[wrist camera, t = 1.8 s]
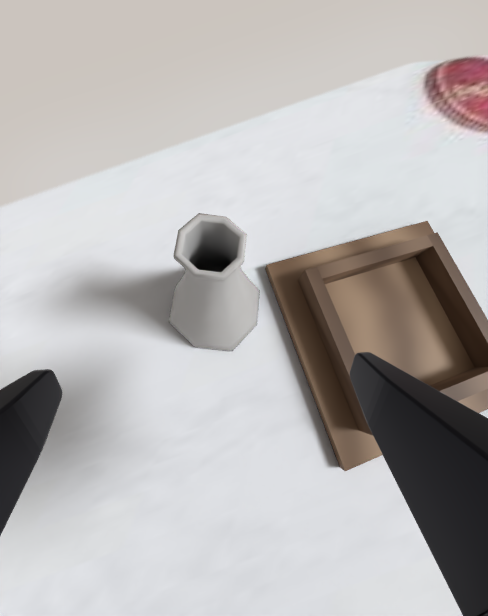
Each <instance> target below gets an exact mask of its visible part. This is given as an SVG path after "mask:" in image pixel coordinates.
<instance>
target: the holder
mask: <svg viewBox="0 0 488 616" xmlns="http://www.w3.org/2000/svg"><path fill="white" fill-rule="evenodd" d="M265 270H266V272H267V275H268V278H269V280H270V283H271V285H272V288H273V291H274V293H275V296H276V299H277V301H278V304H279V307H280V309H281V312H282V315H283V317H284V320H285V323H286V325H287V328H288V331H289V333H290V336H291V339H292V341H293V344H294V346H295V349H296V352H297V354H298V357H299V360H300V362H301V365H302V368H303V370H304V373H305V376H306V378H307V381H308V384H309V386H310V389H311V392H312V394H313V397H314V399H315V402H316V405H317V407H318V410H319V413H320V415H321V418H322V421H323V423H324V426H325V429H326V431H327V434H328V437H329V439H330V442H331V445H332V447H333V450H334V453H335V455H336V458H337V460H338V463H339V466H340V468H342V469H343V470H344V471H347V470H349V469H351V468H354V467H356V466H358V465H361V464H363V463H365V462H367V461H370V460H372V459H374V458H377V457H379V456H381V455H383V454H382V452H381V450H380V448H379V446H378V444H377V442H376V440H375V438H374V436H373V434H372V432H371V430H370V428H369V426H368V424H367V421H366V419H365V416H364V414H363V411H362V409H361V406H360V403H359V401H358V398H357V395H356V393H355V390H354V387H353V385H352V382H351V379H350V370H351V366H352V363H353V360H354V356H355V354H356V353H359V352H370V353H372V354H374V355H376V356H378V357H379V358H381V359H383V360H385V361H387V362H388V363H390V364H392V365H394V366H395V367H397V368H399V369H401V370H403V371H404V372H406V373H408V374H410V375H411V376H413V377H415V378H417V379H419V380H420V381H422V382H424V383H426V384H428V385H429V386H431V387H433V388H435V389H436V390H438V391H440V392H442V393H444V394H445V395H447V396H449V397H451V398H452V399H454V400H456V401H458V402H460V403H461V404H463V405H465V406H467V407H468V408H470V409H472V410H474V411H476V412H477V413H480V412H482V411H484V410H487V409H488V320H487V318H486V316H485V314H484V313H483V311H482V309H481V307H480V306H479V304H478V302H477V300H476V299H475V297H474V295H473V294H472V292H471V290H470V288H469V287H468V285H467V283H466V281H465V280H464V278H463V276H462V274H461V273H460V271H459V269H458V267H457V266H456V264H455V262H454V260H453V259H452V257H451V255H450V253H449V252H448V250H447V248H446V247H445V245H444V243H443V241H442V240H441V238H440V236H439V234H438V233H434V232H433V230H432V228H431V226H430V225H429V223H428V221H425V222H421V223H418V224H414V225H410V226H407V227H403V228H400V229H396V230H392V231H389V232H385V233H381V234H378V235H374V236H370V237H367V238H363V239H359V240H356V241H352V242H348V243H345V244H341V245H337V246H334V247H330V248H326V249H323V250H319V251H316V252H312V253H308V254H305V255H301V256H297V257H294V258H290V259H286V260H283V261H279V262H275V263H272V264H268V265H267V266H266V268H265Z"/></svg>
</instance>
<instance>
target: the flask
mask: <svg viewBox="0 0 488 616" xmlns="http://www.w3.org/2000/svg"><path fill="white" fill-rule="evenodd" d="M246 237H247V234H246V233H245V232H243V231H242V230H241V229H240V228H239V227H238V226H236V225H235V224H234V223H233V222H232V221H231V220H229V219H228V218H227V217H223V216H216V215H208V214H201V213H199V214H197V215H196V216H195V217H194V218H193V219H191V220H190V221H189V222H188V223H187V224H185V225H184V226H183V227H182V228H181V229H180V230H178V235H177V241H176V246H175V251H174V259H175V260H176V261H177V262H179V263H180V264H181V265H182V266H183V267H184V268H185V270H186V272H185V273H184V275H183V277H182V278H181V280H180V281H179V282H178V284H177V285H176V287H175V290H174V296H173V302H172V307H171V313H170V318H169V323H170V324H171V325H172V326H173V327H174V328H176V329H177V330H178V331H179V332H180V333H181V334H182V335H183V336H184V337H185V338H186V339H187V340H188V341H189V342H190V343H191V344H192V345H193V346H194V347H197V348H207V349H216V350H226V351H233V350H234V349H235V348H236V347H237V346H238V345H239V344H240V343H241V341H242V340H243V339H244V338H245V337H246V336H247V335H248V334H249V333H250V332H251V331H252V330H253V328H254V327H255V326H256V325H257V319H258V307H259V295H260V290H259V289H258V288H257V287H256V286H255V285H254V284H253V283H252V282H251V281H250V280H249V278H248V277H247V276H246V274H245V273H244V272H243V271H242V269H241V265H242V264H243V262H244V257H245V247H246Z"/></svg>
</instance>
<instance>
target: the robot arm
mask: <svg viewBox="0 0 488 616" xmlns="http://www.w3.org/2000/svg"><path fill="white" fill-rule="evenodd" d="M350 379H351V382H352V385H353V387H354V390H355V393H356V395H357V398H358V401H359V403H360V406H361V409H362V411H363V414H364V416H365V419H366V421H367V424H368V426H369V428H370V430H371V432H372V434H373V436H374V438H375V440H376V442H377V444H378V446H379V448H380V450H381V452H382V454H383V456H384V458H385V460H386V462H387V464H388V466H389V468H390V470H391V472H392V474H393V476H394V478H395V480H396V482H397V484H398V486H399V488H400V490H401V492H402V494H403V496H404V498H405V500H406V502H407V504H408V506H409V508H410V510H411V512H412V514H413V516H414V518H415V520H416V522H417V524H418V526H419V528H420V530H421V532H422V534H423V536H424V538H425V540H426V542H427V544H428V546H429V548H430V550H431V552H432V554H433V556H434V558H435V560H436V562H437V564H438V566H439V568H440V570H441V572H442V574H443V576H444V578H445V580H446V582H447V584H448V586H449V588H450V590H451V592H452V594H453V596H454V598H455V600H456V602H457V604H458V606H459V608H460V610H461V612H462V614H463V616H488V418H486V417H484V416H483V415H481V414H479V413H477V412H476V411H474V410H472V409H470V408H468V407H467V406H465V405H463V404H461V403H460V402H458V401H456V400H454V399H452V398H451V397H449V396H447V395H445V394H444V393H442V392H440V391H438V390H436V389H435V388H433V387H431V386H429V385H428V384H426V383H424V382H422V381H420V380H419V379H417V378H415V377H413V376H411V375H410V374H408V373H406V372H404V371H403V370H401V369H399V368H397V367H395V366H394V365H392V364H390V363H388V362H387V361H385V360H383V359H381V358H379V357H378V356H376V355H374V354H372V353H370V352H359V353H356V354H355V356H354V360H353V363H352V366H351V370H350ZM61 398H62V389H61V387H60V385H59V382H58V380H57V378H56V376H55V374H54V372H53V371H52V370H49V369H45V370H34V371H32V372H30V373H28V374H27V375H25V376H23V377H21V378H20V379H18V380H16V381H15V382H13V383H11V384H9V385H8V386H6V387H4V388H3V389H1V390H0V535H1V533H2V531H3V529H4V527H5V525H6V523H7V521H8V519H9V517H10V515H11V513H12V511H13V509H14V507H15V505H16V503H17V501H18V499H19V497H20V495H21V493H22V490H23V488H24V486H25V484H26V482H27V480H28V478H29V476H30V474H31V472H32V470H33V468H34V466H35V464H36V462H37V460H38V458H39V456H40V453H41V451H42V449H43V446H44V444H45V441H46V439H47V436H48V433H49V431H50V428H51V425H52V423H53V420H54V417H55V415H56V412H57V409H58V406H59V404H60V401H61Z"/></svg>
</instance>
